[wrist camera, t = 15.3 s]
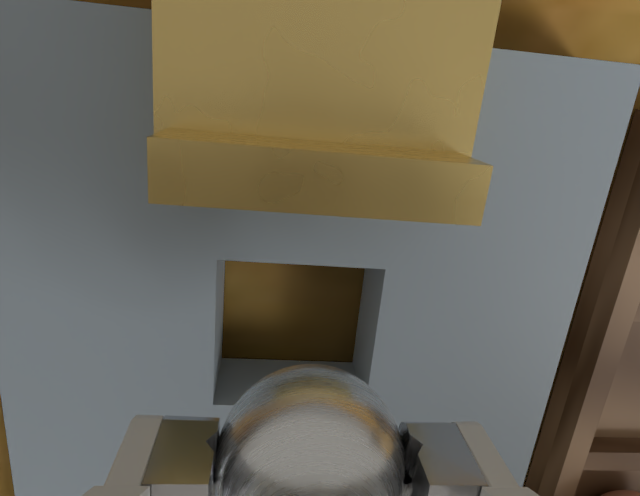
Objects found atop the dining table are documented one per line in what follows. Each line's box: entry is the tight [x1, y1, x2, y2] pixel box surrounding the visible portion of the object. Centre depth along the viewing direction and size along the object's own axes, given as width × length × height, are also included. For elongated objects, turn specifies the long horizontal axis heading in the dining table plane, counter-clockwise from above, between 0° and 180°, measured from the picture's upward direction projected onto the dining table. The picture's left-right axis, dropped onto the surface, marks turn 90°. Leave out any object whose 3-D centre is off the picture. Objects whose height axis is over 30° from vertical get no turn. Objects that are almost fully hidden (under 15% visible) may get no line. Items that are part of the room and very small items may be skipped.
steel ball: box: [215, 364, 405, 496], centre depth 9 cm, size 3×3×3 cm
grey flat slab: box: [0, 0, 640, 496], centre depth 16 cm, size 22×16×2 cm
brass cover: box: [147, 0, 502, 226], centre depth 9 cm, size 7×7×3 cm
